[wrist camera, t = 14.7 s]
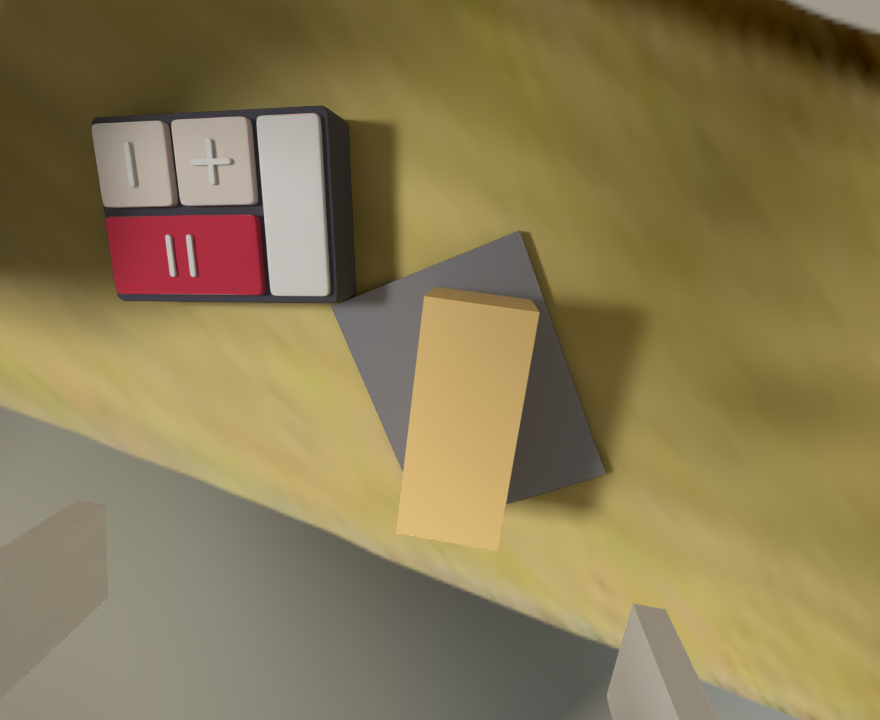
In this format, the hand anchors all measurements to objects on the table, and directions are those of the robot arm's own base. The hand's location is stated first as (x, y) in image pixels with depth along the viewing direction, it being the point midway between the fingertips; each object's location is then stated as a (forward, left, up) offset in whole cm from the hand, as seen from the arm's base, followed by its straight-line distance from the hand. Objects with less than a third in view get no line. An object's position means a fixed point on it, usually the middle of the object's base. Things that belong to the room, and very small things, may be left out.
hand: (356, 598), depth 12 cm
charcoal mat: (+2, +1, -22) cm, 22 cm away
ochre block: (+8, -2, -19) cm, 20 cm away
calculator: (-15, -9, -23) cm, 28 cm away
